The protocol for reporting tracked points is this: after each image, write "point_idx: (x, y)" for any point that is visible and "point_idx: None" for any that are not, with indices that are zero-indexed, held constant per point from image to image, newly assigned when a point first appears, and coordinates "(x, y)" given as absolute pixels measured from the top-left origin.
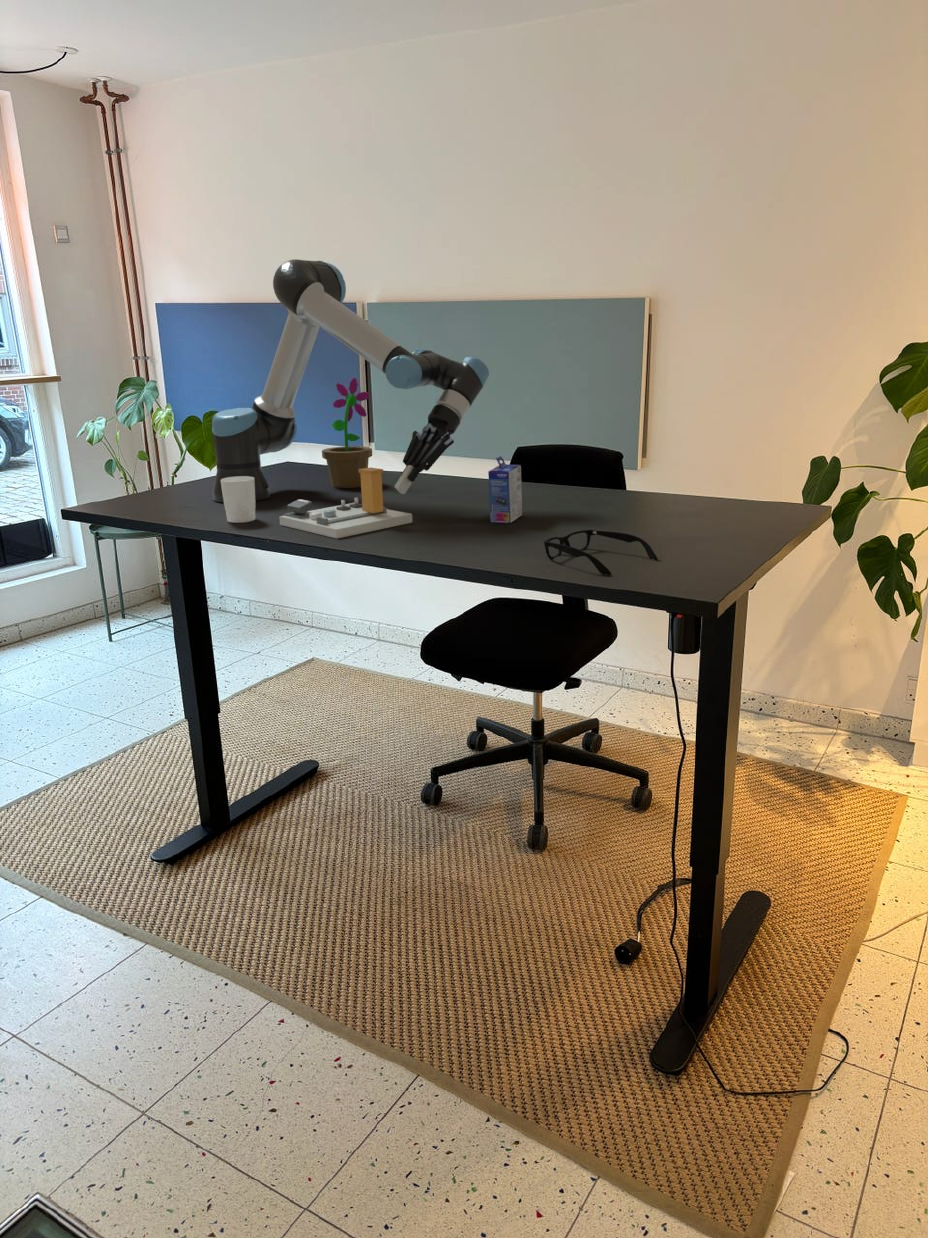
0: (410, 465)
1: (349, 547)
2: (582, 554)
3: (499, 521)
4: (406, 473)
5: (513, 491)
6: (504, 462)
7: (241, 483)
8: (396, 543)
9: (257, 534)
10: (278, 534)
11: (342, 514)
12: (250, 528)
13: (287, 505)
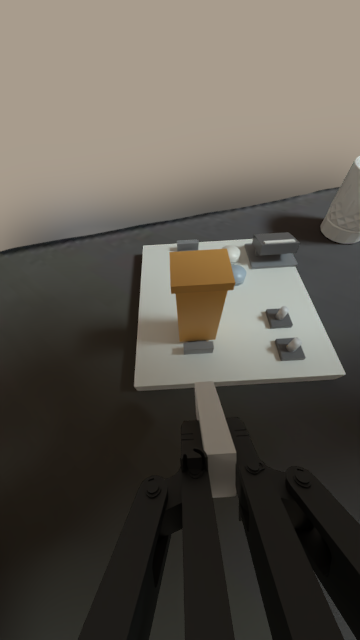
0: (217, 453)
1: (96, 246)
2: None
3: None
4: (202, 418)
5: None
6: None
7: (352, 167)
8: (56, 286)
9: (237, 217)
10: (220, 228)
11: (232, 296)
12: (277, 222)
13: (287, 232)
